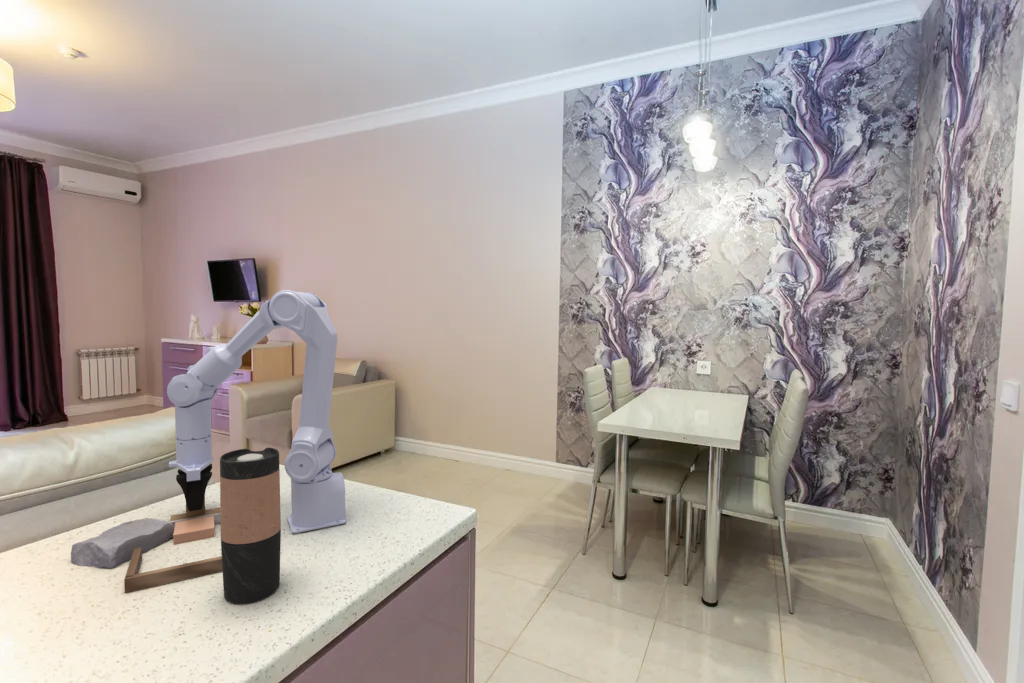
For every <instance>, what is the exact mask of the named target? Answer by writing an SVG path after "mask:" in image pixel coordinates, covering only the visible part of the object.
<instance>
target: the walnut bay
mask: <svg viewBox="0 0 1024 683" xmlns="http://www.w3.org/2000/svg"><path fill="white" fill-rule="evenodd" d="M142 562H143V554H142V547H141V548H135V549H134V551H133V554H132V557H131V560H129V564H128V566H127V570H126V573H125V576H124V580H123V581H124V582H123V583H124V594H128V593H131V592H136V591H141V590H145V589H149V588H154V587H157V586H164V585H167V584H172V583H173V584H174V583H176V582H181V581H185V580H190V579H194V578H199V577H202V576H203V577H204V576H208V575H213V574H216V573H221V572H222V573H223V570H222V555H221V556H217V557H211V558H207V559H202V560H195V561H191V562H188V563H186V562H185V563H183V564H182V563H181V564H178V565H173V566H168V567H164V568H158V569H154V570H149V571H144V572H140V569H141V565H142Z"/></svg>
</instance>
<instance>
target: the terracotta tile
mask: <svg viewBox="0 0 1024 683" xmlns="http://www.w3.org/2000/svg"><path fill="white" fill-rule="evenodd" d="M172 537H173V538H172V539H173V546H175V545H181V544H186V543H191V542H196V541H202V540H206V539H212V538H215V524H214V516H209V517H203V518H197V519H191V520H185V521H180V522H176V523H175V528H174V532H173V535H172Z"/></svg>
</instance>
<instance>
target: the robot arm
mask: <svg viewBox="0 0 1024 683" xmlns="http://www.w3.org/2000/svg"><path fill="white" fill-rule="evenodd" d="M282 328H286V329H289V330H290V331H293V332H294V333H295V334H296V335H297V336H298V337H299V338H300V339H301V340H302V341H303V342H304V343H305V344H306V349H305V358H304V359H305V361H304V369H303V380H302V390H301V400H300V409H299V410H300V413H299V420H298V421H299V422H298V428H297V430H296V432H295V434H294V437H293V439H292V441H291V447H290V451H289V452H288V454H287V455H286V457H285V460H284V470H285V472H286V474H287V476H288V477H289V478H290V484H291V485H290V488H291V489H290V491H291V492H290V497H291V498H290V499H291V500H290V501H291V504H290V505H291V506H290V509H291V510H290V511H291V515H287V516H286V520H287V523H288V526H289V528H290V531H291V534H299V533H303V532H308V531H309V532H310V531H314V530H319V529H325V528H329V527H334V526H338V525H343V524H346V523H347V520H346V484H345V478H344V475H343V473H342V472H333V471H332V468H331V464H332V463H333V462H334V461H335V459H336V456H337V448H336V445H335V444H334V439H333V438H334V437H333V436H334V432H333V430H332V428H331V427H330V420H331V418H330V417H331V409H332V408H331V406H332V397H333V385H334V376H335V368H336V366H335V365H336V358H337V357H336V356H337V348H338V347H337V346H338V332H337V330H336V328H335V326H334V323H333V321H332V319H331V317H330V314H329V312H328V304H326V303H325V301H323V300H322V299H321V298H320V297H319V295H316V294H315V293H313V292H311V291H293V290H290V289H282V290H279V291H277V292H276V293H274V294H273V295H272V296H271V299H267V301H265V302H263V303H262V305H261V307H260V308H259V310H258V311H257V312H256V313H255V314H254V315H253V316H252V317H251V318H250V319H249V320H248V322H246V323H245V324H244V326H243V327H242V328H240V330H238V332H237V333H236V334H235V335H234V336H233V337H232V338H231V339H230V340H229V341H228V342H227V343H226V344H216V345H214V346H208V347H207V348H206V349H205V350H204V352H205V353H206V354H205V355H203V357H201V358H200V359H199V360H198V361H197V362H196V363H195V364H193V365H192V364H191V365H189V367H187V369H186V370H187V372H186V373H185V374H178V375H175V376H173V377H172V378H171V380H170V381H169V383H168V384H167V388H166V393H167V394H166V395H167V398H168V400H169V401H170V402H171V403H172V404H173V405H174V415H175V416H174V419H175V422H174V424H175V425H174V426H175V452H176V453H175V454H176V456H175V457H176V458H175V460H170V461H169V462H168V467H169V468H174V467H175V468H176V469H178V470H177V473H178V474H176V476H175V477H176V478H175V480H176V482H177V484H178V485H179V486H180V488H181V490H182V492H183V496H184V500H185V505H186V504H187V507H188V510H189V511H194V510H201V509H202V507H203V503H204V497H205V498H206V490H207V487H208V484H209V482H210V480H211V478H212V476H213V472H212V469H213V464H212V463H213V462H214V456H213V442H212V440H213V439H212V438H213V437H212V406H213V399H214V398H215V396H216V395H217V393H218V391H219V390H218V389H219V387H220V386H221V385H223V383H224V382H226V381H227V380H228V379H229V378H230V377H231V376H232V375H233V374H234V373H235V372H236V371H238V369H240V367H242V364H243V361H242V360H243V359H242V358H243V355H245V354H246V353H248V352H249V350H251V349H253V347H255V345H257V343H259V342H260V341H262V340H263V339H264V338H265V337H267V335H269V334H270V333H271V332H273V330H276V329H282Z"/></svg>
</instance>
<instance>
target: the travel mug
mask: <svg viewBox="0 0 1024 683" xmlns="http://www.w3.org/2000/svg"><path fill="white" fill-rule="evenodd" d="M280 474H281V473H280V451H279V450H278V449H277V448H274V447H266V448H264V449H262V450H257V451H256V450H251V449H249V448H239V449H235V450H230V451H229V452H226V453H223V454H222V455H221V456H220V458H219V486H220V488H219V489H220V490H219V491H220V492H219V495H220V498H219V499H220V500H219V501H220V503H219V504H220V505H219V507H220V521H221V523H220V548H221V552H220V553H221V556H222V570H223V571H222V581H223V582H222V585H223V586H222V588H223V597H224V599H225V600H226V601H227V603H230V604H233V605H234V604H235V605H249V604H252V603H257V602H260V601H262V600H265V599H266V598H268V597H270V596H272V595H273V594H275V592H277V590H278V589H279V587H280V583H281V582H280V580H281V578H280V575H281V535H282V534H281V533H282V532H281V531H282V520H281V477H280V476H281V475H280Z"/></svg>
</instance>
